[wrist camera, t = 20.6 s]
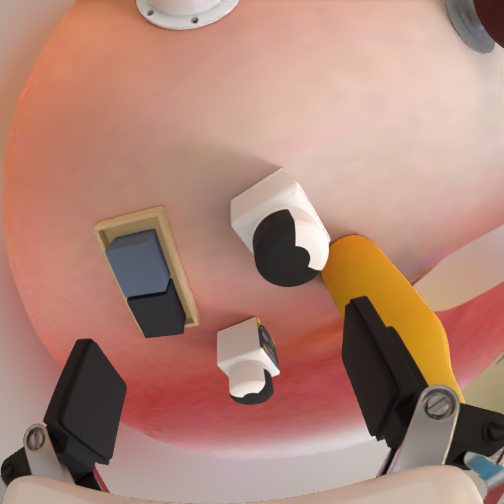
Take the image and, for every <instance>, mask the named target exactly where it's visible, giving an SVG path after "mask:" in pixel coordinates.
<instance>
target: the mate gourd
mask: <svg viewBox="0 0 504 504" xmlns="http://www.w3.org/2000/svg"><path fill="white" fill-rule="evenodd" d="M445 4H446V9H447V12H448V15H449V18H450V20H451V22H452V24H453V26H454V28H455V30H456V31H457V33H458V34H459V36H460V37H461V38H462V39H463V41H464V42H465V43H466V44H467V45H468V46H469V47H471V48H472V49H473V50H475V51H477V52H479V53H489V52H491V51H492V49H493V48H494V45H495V42H496V43H497V44H499V45H500V46H501V47H502V48H504V0H445Z"/></svg>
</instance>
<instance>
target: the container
mask: <svg viewBox="0 0 504 504" xmlns="http://www.w3.org/2000/svg"><path fill="white" fill-rule="evenodd" d="M230 205H231V226H232V228H233V229H234V230H235V232H236V233H237V234H238V236H239V237H240V238H241V240H242V241H243V242H244V243H245V245H246V246H247V247H248V249H249V250H250V251H251V252H252V254H253V255H254V258H255V263H256V267H257V269H258V271H259V273H260V274H261V275H262V277H263V278H264V279H266V280H267V281H268V282H270V283H272V284H274V285H278V286H283V287H294V286H299V285H302V284H304V283H307V282H309V281H310V280H312V279H313V278H315V277H316V276H317V275H318V274H319V273H320V272H321V270H322V269H323V268H324V266H325V264H326V262H327V259H328V255H329V245H328V243H329V242H330V241H331V239H330V236H329V235H328V233H327V231H326V229H325V227H324V226H323V224H322V222H321V220H320V219H319V217H318V215H317V214H316V212H315V210H314V208H313V207H312V205H311V203H310V202H309V200H308V198H307V197H306V195H305V193H304V192H303V190H302V188H301V187H300V185H299V184H298V182H297V181H296V180H295V179H294V178H293V177H292V176H291V175H290V174H289V172H288V171H287V170H286V169H285V168H280V169H278V170H277V171H275V172H274V173H272V174H271V175H269V176H267V177H266V178H264V179H263V180H261V181H260V182H258V183H256V184H255V185H253V186H252V187H250V188H249V189H247V190H246V191H244V192H243V193H241V194H240V195H238V196H237V197H235V198H234V199H232V200H231V202H230Z"/></svg>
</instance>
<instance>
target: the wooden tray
mask: <svg viewBox="0 0 504 504" xmlns="http://www.w3.org/2000/svg"><path fill="white" fill-rule="evenodd" d="M154 228H155V230H156V233H157V236H158V239H159V242H160V245H161V248H162V251H163V254H164V257H165V259H166V262H167V265H168V268H169V271H170V274H171V275H170V278H172V280H173V282H174V285H175V288H176V291H177V293H178V296H179V298H180V301H181V304H182V306H183V309H184V311H185V314H186V320H185V327H184V328H186V327H194V326H199V323H200V315H199V312H198V309H197V307H196V304H195V301H194V298H193V295H192V293H191V290H190V287H189V284H188V281H187V278H186V275H185V272H184V269H183V266H182V263H181V260H180V257H179V254H178V251H177V248H176V244H175V241H174V238H173V235H172V231H171V228H170V225H169V221H168V218H167V215H166V211H165V208H164V205H163V206H158V207H154V208H150V209H146V210H142V211H138V212H134V213H130V214H126V215H122V216H118V217H115V218H111V219H107V220H104V221H100V222H98V223H97V224H96V226H95V227H94V228H93V229H94V232H95V234H96V237H97V239H98V242H99V244H100V247H101V249H102V252H103V254H104V256H105V259H106V261H107V264H108V266H109V268H110V270H111V273H112V275H113V277H114V279H115V281H116V284H117V286H118V288H119V290H120V292H121V294H122V296H123V298H124V300H125V302H126V304H127V306H128V308H129V310H130V312H131V314H132V316H133V318H134V320H135V322H136V324H137V326H138V328H139V330H140V331H141V333H143V332H142V330H141V328H140V326H139V325H138V323H137V321H136V319H135V317H134V315H133V313H132V311H131V309H130V307H129V305H128V303H127V299H128V297H125V296H124V294H123V292H122V290H121V288H120V285H119V283H118V281H117V279H116V277H115V274H114V272H113V270H112V268H111V265H110V263H109V261H108V258H107V256H106V253H105V251H106V249H107V248H108V246H109V245H110V244H111V242H112V241H113V240H114V238H115V237H119V236H123V235H128V234H132V233H136V232H141V231H145V230H150V229H154Z"/></svg>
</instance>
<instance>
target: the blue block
mask: <svg viewBox="0 0 504 504" xmlns="http://www.w3.org/2000/svg"><path fill="white" fill-rule="evenodd" d="M105 253H106V256H107V258H108V261H109V263H110V265H111V268H112V270H113V272H114V274H115V277H116V279H117V281H118V283H119V285H120V288H121V290H122V292H123V294H124V296H125V297H130V296H137V295H144V294H150V293H156V292H163V291H166V288H167V285H168V281H169V278H170V275H171V274H170V271H169V268H168V265H167V262H166V259H165V257H164V254H163V251H162V248H161V245H160V242H159V239H158V236H157V233H156V230H155V228H154V229H150V230H145V231H141V232H136V233H132V234H128V235H123V236H119V237H115V238H114V240H113V241H112V242H111V244H110V245H109V246H108V248H107V249H106V251H105Z"/></svg>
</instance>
